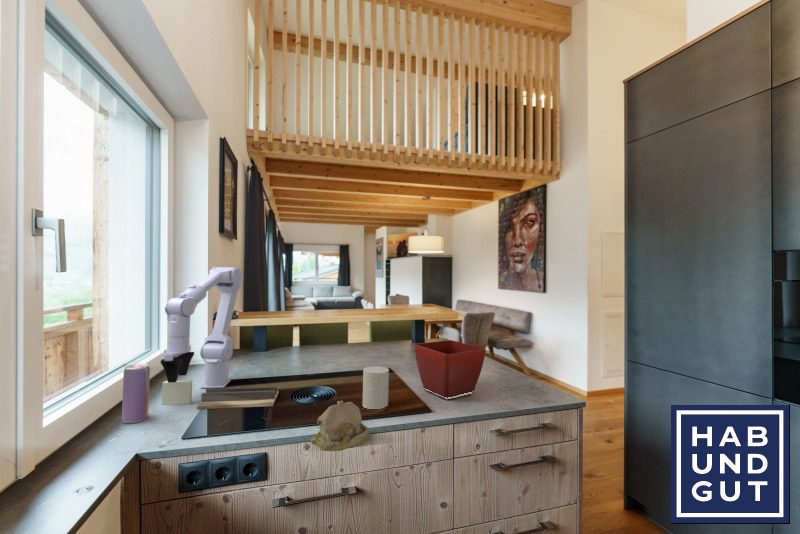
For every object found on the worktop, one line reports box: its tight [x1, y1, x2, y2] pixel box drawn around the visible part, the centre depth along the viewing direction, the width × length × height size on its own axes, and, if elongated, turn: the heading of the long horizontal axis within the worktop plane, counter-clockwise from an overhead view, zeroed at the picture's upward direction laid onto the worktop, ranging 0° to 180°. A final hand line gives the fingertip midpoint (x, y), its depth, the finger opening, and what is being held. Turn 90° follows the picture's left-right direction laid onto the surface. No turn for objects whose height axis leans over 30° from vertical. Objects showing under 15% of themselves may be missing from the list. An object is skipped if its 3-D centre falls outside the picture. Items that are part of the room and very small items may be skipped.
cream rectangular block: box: [161, 379, 193, 406], centre depth 114 cm, size 2×8×7 cm, turn 100°
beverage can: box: [121, 363, 151, 424], centre depth 101 cm, size 6×6×15 cm
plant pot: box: [413, 339, 487, 398], centre depth 130 cm, size 19×19×17 cm
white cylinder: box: [362, 365, 390, 409], centre depth 114 cm, size 8×8×12 cm
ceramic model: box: [310, 399, 371, 452], centre depth 92 cm, size 14×11×10 cm
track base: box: [196, 386, 279, 410], centre depth 117 cm, size 12×22×4 cm, turn 101°
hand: (177, 378), depth 114 cm, fingers open, 7 cm apart
